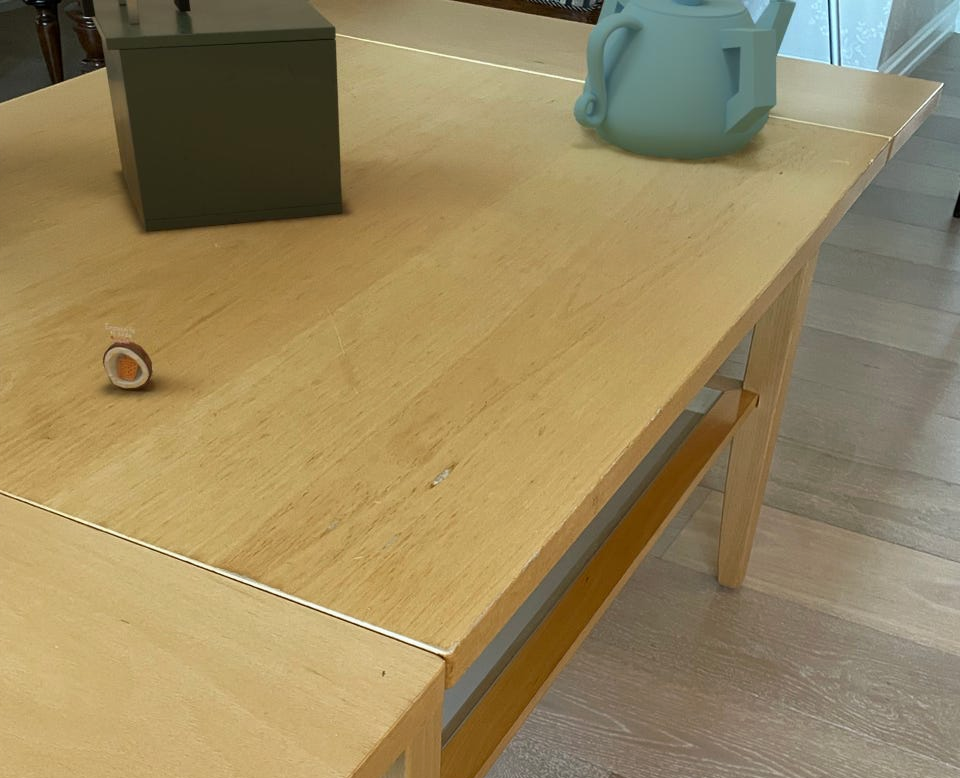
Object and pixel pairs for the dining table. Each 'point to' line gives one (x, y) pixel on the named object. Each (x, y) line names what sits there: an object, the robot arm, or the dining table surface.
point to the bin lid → (207, 22)
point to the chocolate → (127, 362)
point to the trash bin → (228, 131)
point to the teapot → (681, 75)
